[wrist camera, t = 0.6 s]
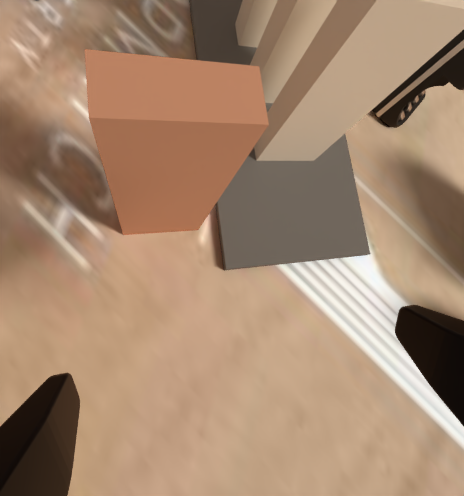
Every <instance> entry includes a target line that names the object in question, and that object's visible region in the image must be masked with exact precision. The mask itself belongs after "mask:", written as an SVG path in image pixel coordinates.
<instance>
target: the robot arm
mask: <svg viewBox="0 0 464 496" xmlns="http://www.w3.org/2000/svg"><path fill="white" fill-rule="evenodd" d="M395 333H396V336H397V338H398V340H399V341H400V343H401V344H402V346H403V347H404V348H405V350H406V351H407V353H408V354H409V356H410V357H411V359H412V360H413V362H414V363H415V364H416V366H417V367H418V369H419V370H420V372H421V373H422V375H423V376H424V377H425V379H426V380H427V382H428V383H429V384H430V386H431V387H432V388H433V389H434V391H435V392H436V393H437V394H438V396H439V397H440V398H441V399H442V401H443V402H444V403H445V404H446V405H447V407H448V408H449V409H450V410H451V411H452V413H453V414H454V415H455V416H456V418H457V419H458V420H459V421H460V422H461V424H462V425H463V426H464V321H463V320H460V319H457V318H454V317H451V316H448V315H445V314H442V313H439V312H436V311H433V310H430V309H427V308H424V307H421V306H418V305H410V306H405V307H402V308H401V309H400V310H399V313H398V318H397V322H396V327H395ZM79 410H80V399H79V395H78V392H77V389H76V386H75V384H74V381H73V378H72V376H71V374H69V373H63V374H58V375H53V376H51V377H49V378H48V379H47V380H46V381H45V382H44V383H43V384H42V385H41V386H40V387H39V388H38V389H37V390H36V391H35V392H34V393H33V394H32V395H31V396H30V397H29V398H28V399H27V400H26V401H25V402H24V403H23V404H22V405H21V406H20V407H19V408H18V409H17V410H16V411H15V412H14V413H13V414H12V415H11V416H10V417H9V418H8V419H7V420H6V421H5V422H4V423H3V424H2V425H1V426H0V496H67V495H68V491H69V486H70V481H71V476H72V468H73V461H74V452H75V444H76V435H77V427H78V418H79Z"/></svg>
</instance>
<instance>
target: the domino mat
mask: <svg viewBox="0 0 464 496" xmlns="http://www.w3.org/2000/svg"><path fill="white" fill-rule="evenodd" d="M242 1H243V0H189V3H190V10H191V18H192V26H193V34H194V41H195V49H196V57H197V60H200V61H210V62H220V63H230V64H241V65H250V63H251V61H252V59H253V56H254V54H255V52H256V49H257V48H256V47H248V46H239V45H238V40H237V33H236V27H235V23H236V20H237V17H238V13H239V10H240V7H241V4H242ZM265 104H266V110H267V112H268V111H269V109H270V108H271V106H272V104H273V103H265ZM216 211H217V219H218V227H219V235H220V242H221V250H222V258H223V266H224V270H231V269H241V268H250V267H259V266H268V265H278V264H287V263H296V262H306V261H315V260H324V259H334V258H343V257H352V256H362V255H368V254H370V251H369V246H368V242H367V237H366V232H365V227H364V222H363V218H362V213H361V208H360V203H359V198H358V194H357V189H356V184H355V179H354V174H353V169H352V165H351V160H350V155H349V150H348V145H347V141H346V136H345V134H344V135H343V136H342V137H340V138H339V139H338V140H337V141H336V142H335V143H334V144H332V145H331V146H330V147H329V148H328V149H327V150H326V151H324V152H323V153H322V154H321V155H320V156H319V157H318V158H316V159H315V160H314V161H256V156H255V149H254V148H253V149H252V151H251V152H250V154H249V155H248V157H247V158H246V159H245V161H244V162H243V164H242V165H241V167H240V168H239V170H238V171H237V173H236V174H235V176H234V177H233V179H232V180H231V182H230V183H229V185H228V186H227V188H226V189H225V191H224V192H223V194H222V195H221V197H220V198H219V200H218V201H217V203H216Z"/></svg>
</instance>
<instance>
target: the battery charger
mask: <svg viewBox="0 0 464 496" xmlns="http://www.w3.org/2000/svg"><path fill="white" fill-rule="evenodd" d="M448 82H450V83H451V84H452V85H453V86H454V87H456V88H457V89H459V90H464V30H462V31H461V32H460V33H459V34H458V35H457V36H456V37H454V38H453V39H452V40H451V41H450V42H449V43H448V44H446V45H445V46H444V47H443V48H442V49H441V50H440V51H438V52H437V53H436V54H435V55H434V56H433V57H432V58H430V59H429V60H428V61H427V62H426V63H425V64H424V65H422V66H421V67H420V68H419V69H418V70H417V71H416V72H415V73H413V74H412V75H411V76H410V77H409V78H408V79H407V80H405V81H404V82H403V83H402V84H401V85H400V86H399V87H397V88H396V89H395V90H394V91H393V92H392V93H391V94H389V95H388V96H387V97H386V98H385V99H384V100H383V101H381V102H380V103H379V104H378V105H377V106H376V107H375V108H373V111H374V112H375V113H376V114H375V115H376V116H377V117H380V118H381V119H382V120H383V122H385V123H386V124H387V125H389V126H390V127H394V128H397V127H399V126H400V125H402V124H403V123H404V122H405V121H406V120H407V119H408V117H409V116H410V115H411V114H412V113H413V111H414V110H415V109H416V108H417V106H418V105H419V104H420V103H421V102H422V100H423V99H424V97H425V89H427V88H430V87H433V86H444V85H446V84H447V83H448Z"/></svg>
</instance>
